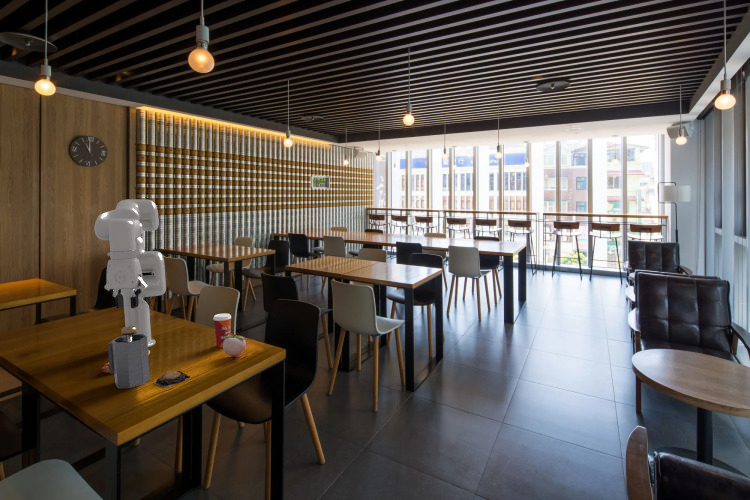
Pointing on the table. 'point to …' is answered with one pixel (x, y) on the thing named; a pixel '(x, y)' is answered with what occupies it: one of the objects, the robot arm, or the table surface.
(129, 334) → the plunger
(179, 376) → the abalone
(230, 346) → the decorative fruit
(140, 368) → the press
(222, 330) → the paper cup
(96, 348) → the table surface
